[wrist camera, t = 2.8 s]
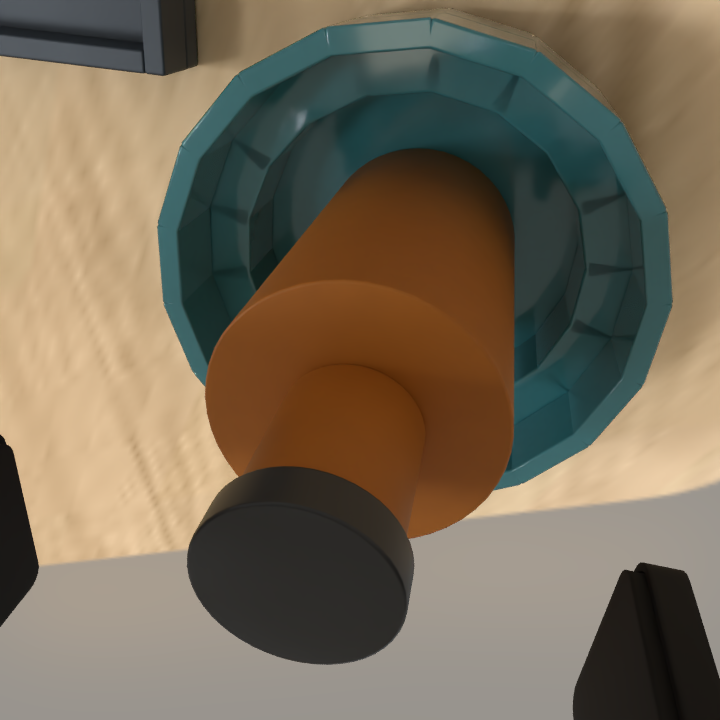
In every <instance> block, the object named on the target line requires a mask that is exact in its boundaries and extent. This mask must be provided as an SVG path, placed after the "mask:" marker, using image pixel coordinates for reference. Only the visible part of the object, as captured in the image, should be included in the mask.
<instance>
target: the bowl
mask: <svg viewBox="0 0 720 720" xmlns="http://www.w3.org/2000/svg"><path fill="white" fill-rule="evenodd" d="M415 148H420V149H432V150H437V151H442V152H446V153H449V154H451V155H454V156H457V157H459V158H461V159H463V160H465V161H467V162H469V163H470V164H472V165H473V166H475V167H476V168H477V169H479V170H480V171H481V172H482V173H483V174H484V175H486V176H487V177H488V178H489V179H490V180H491V182H492V183H493V184H494V185H495V186H496V188H497V189H498V190H499V192H500V194H501V195H502V197H503V198H504V200H505V203H506V205H507V207H508V209H509V212H510V215H511V219H512V222H513V228H514V235H515V249H514V439H513V445H512V451H511V455H510V458H509V461H508V464H507V467H506V470H505V472H504V473H503V475H502V477H501V479H500V481H499V483H498V484H497V486H496V487H495V488H494V490H498V489H502V488H507V487H512V486H516V485H520V484H521V483H525V482H527V481H528V480H530V479H532V478H534V477H536V476H537V475H539V474H541V473H543V472H544V471H546V470H548V469H550V468H552V467H553V466H555V465H557V464H559V463H560V462H562V461H564V460H566V459H568V458H569V457H571V456H573V455H575V454H576V453H578V452H580V451H582V450H584V449H585V448H587V447H588V446H589V445H591V444H592V443H593V442H594V441H595V440H596V439H597V437H598V436H599V435H600V434H601V433H602V432H603V431H604V429H605V428H606V427H607V426H608V425H609V424H610V423H611V422H612V420H613V419H614V418H615V417H616V416H617V415H618V414H619V412H620V411H621V410H622V409H623V408H624V407H625V406H626V404H627V403H628V402H629V401H630V400H631V399H632V398H633V397H634V395H635V394H636V393H637V392H638V391H639V390H640V389H641V387H642V385H643V384H644V383H645V380H646V377H647V374H648V372H649V369H650V366H651V363H652V361H653V358H654V355H655V352H656V350H657V347H658V344H659V341H660V338H661V336H662V333H663V330H664V327H665V325H666V322H667V319H668V316H669V314H670V311H671V308H672V302H673V297H672V279H671V261H670V242H669V224H668V213H667V211H666V206H665V204H664V202H663V200H662V198H661V196H660V194H659V193H658V191H657V189H656V187H655V185H654V183H653V181H652V179H651V177H650V175H649V173H648V171H647V169H646V167H645V165H644V163H643V161H642V159H641V157H640V155H639V153H638V151H637V149H636V147H635V145H634V143H633V141H632V139H631V137H630V135H629V133H628V131H627V129H626V127H625V125H624V123H623V122H622V120H621V119H620V118H619V116H618V115H617V113H616V112H615V111H614V109H613V108H612V106H611V105H610V104H609V102H608V101H607V100H606V98H605V97H604V95H603V94H602V93H601V92H600V91H599V89H598V88H597V87H596V86H595V85H594V84H593V83H591V82H590V81H589V80H588V79H587V78H585V77H584V76H583V75H582V74H581V73H580V72H578V71H577V70H576V69H575V68H574V67H572V66H571V65H570V64H569V63H568V62H566V61H565V60H564V59H563V58H562V57H561V56H559V55H558V54H557V53H556V52H555V51H553V50H552V49H551V48H550V47H549V46H548V45H546V44H545V43H544V42H543V41H542V40H540V39H539V38H538V37H537V36H533V34H532V33H530V32H526V31H523V30H520V29H517V28H514V27H510V26H507V25H504V24H501V23H498V22H494V21H491V20H488V19H485V18H482V17H478V16H475V15H472V14H469V13H466V12H462V11H459V10H456V9H453V8H452V9H448V8H439V9H429V10H418V11H407V12H397V13H386V14H375V15H366V16H363V17H359V18H355V19H352V20H348V21H344V22H340V23H337V24H333V25H330V26H327V27H324V28H321V29H319V30H317V31H316V32H314V33H312V34H310V35H308V36H306V37H304V38H302V39H301V40H299V41H297V42H295V43H293V44H291V45H289V46H287V47H286V48H284V49H282V50H280V51H278V52H276V53H274V54H272V55H271V56H269V57H267V58H265V59H263V60H261V61H259V62H257V63H256V64H254V65H252V66H250V67H248V68H246V69H244V70H243V71H241V72H240V73H239V74H238V75H236V76H235V77H234V78H233V79H232V81H231V82H230V83H229V84H228V86H227V87H226V88H225V89H224V91H223V92H222V93H221V94H220V96H219V97H218V98H217V99H216V101H215V102H214V103H213V104H212V106H211V107H210V108H209V109H208V110H207V112H206V113H205V114H204V115H203V117H202V118H201V119H200V120H199V122H198V123H197V124H196V125H195V127H194V128H193V129H192V130H191V132H190V133H189V134H188V135H187V137H186V138H185V139H184V140H183V142H182V145H181V146H180V148H179V152H178V155H177V159H176V162H175V165H174V169H173V172H172V176H171V179H170V182H169V186H168V189H167V193H166V196H165V199H164V203H163V206H162V210H161V213H160V216H159V220H158V224H159V225H158V227H157V229H158V241H159V254H160V267H161V279H162V292H163V302H164V307H165V309H166V311H167V313H168V316H169V318H170V320H171V323H172V325H173V327H174V330H175V332H176V334H177V337H178V339H179V341H180V344H181V346H182V348H183V351H184V353H185V355H186V357H187V360H188V362H189V364H190V367H191V369H192V371H193V373H194V374H195V375H196V377H197V378H198V379H199V380H200V381H201V382H202V384H203V385H204V386H205V387H206V376H207V370H208V365H209V362H210V359H211V356H212V353H213V350H214V348H215V346H216V344H217V342H218V341H219V339H220V337H221V335H222V334H223V332H224V331H225V330H226V328H227V327H228V326H229V325H230V323H231V322H232V321H233V320H234V318H235V317H236V316H237V315H238V314H239V312H240V311H241V310H242V309H243V307H244V306H245V305H246V304H247V302H248V301H249V300H250V299H251V298H252V296H253V295H254V294H255V293H256V291H257V290H258V289H259V288H260V286H261V285H262V284H263V283H264V282H265V280H266V279H267V278H268V277H269V275H270V274H271V273H272V272H273V270H274V269H275V268H276V267H277V266H278V264H279V263H280V262H281V261H282V259H283V258H284V257H285V256H286V255H287V253H288V252H289V251H290V250H291V248H292V247H293V246H294V245H295V243H296V242H297V241H298V240H299V239H300V237H301V236H302V235H303V234H304V232H305V231H306V230H307V229H308V227H309V226H310V225H311V224H312V223H313V221H314V220H315V219H316V218H317V216H318V215H319V214H320V213H321V211H322V210H323V209H324V208H325V207H326V205H327V204H328V203H329V202H330V200H331V199H332V198H333V197H334V196H335V194H336V193H337V192H338V191H339V189H340V188H341V187H342V186H343V184H344V183H345V182H346V181H347V180H348V178H349V177H350V176H351V175H352V174H353V173H355V172H356V171H357V170H358V169H359V168H361V167H362V166H363V165H365V164H366V163H368V162H369V161H371V160H373V159H375V158H377V157H379V156H382V155H384V154H387V153H390V152H394V151H398V150H403V149H415Z"/></svg>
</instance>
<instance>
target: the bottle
mask: <svg viewBox="0 0 720 720" xmlns="http://www.w3.org/2000/svg"><path fill="white" fill-rule="evenodd" d="M514 249H515V235H514V228H513V222H512V219H511V215H510V212H509V209H508V207H507V205H506V203H505V200H504V198H503V197H502V195H501V194H500V192H499V190H498V189H497V188H496V186H495V185H494V184H493V183H492V182H491V180H490V179H489V178H488V177H487V176H486V175H484V174H483V173H482V172H481V171H480V170H479V169H477V168H476V167H475V166H473V165H472V164H470V163H469V162H467V161H465V160H463V159H461V158H459V157H457V156H454V155H451V154H449V153H446V152H442V151H437V150H432V149H420V148H415V149H403V150H398V151H394V152H390V153H387V154H384V155H382V156H379V157H377V158H375V159H373V160H371V161H369V162H368V163H366V164H365V165H363V166H362V167H361V168H359V169H358V170H357V171H356V172H355V173H353V174H352V175H351V176H350V177H349V178H348V180H347V181H346V182H345V183H344V184H343V186H342V187H341V188H340V189H339V191H338V192H337V193H336V194H335V196H334V197H333V198H332V199H331V200H330V202H329V203H328V204H327V205H326V207H325V208H324V209H323V210H322V211H321V213H320V214H319V215H318V216H317V218H316V219H315V220H314V221H313V223H312V224H311V225H310V226H309V227H308V229H307V230H306V231H305V232H304V234H303V235H302V236H301V237H300V239H299V240H298V241H297V242H296V243H295V245H294V246H293V247H292V248H291V250H290V251H289V252H288V253H287V255H286V256H285V257H284V258H283V259H282V261H281V262H280V263H279V264H278V266H277V267H276V268H275V269H274V270H273V272H272V273H271V274H270V275H269V277H268V278H267V279H266V280H265V282H264V283H263V284H262V285H261V286H260V288H259V289H258V290H257V291H256V293H255V294H254V295H253V296H252V298H251V299H250V300H249V301H248V302H247V304H246V305H245V306H244V307H243V309H242V310H241V311H240V312H239V314H238V315H237V316H236V317H235V318H234V320H233V321H232V322H231V323H230V325H229V326H228V327H227V328H226V330H225V331H224V332H223V334H222V335H221V337H220V339H219V341H218V342H217V344H216V346H215V348H214V350H213V353H212V356H211V359H210V362H209V365H208V370H207V376H206V388H205V400H206V408H207V415H208V419H209V422H210V426H211V430H212V432H213V435H214V437H215V440H216V442H217V444H218V446H219V448H220V450H221V452H222V454H223V455H224V457H225V459H226V460H227V462H228V463H229V465H230V466H231V467H232V469H233V470H234V471H235V473H236V474H237V475H238V476H239V477H238V478H236V479H234V480H233V481H232V482H230V483H229V484H227V485H226V486H225V487H224V488H223V489H222V490H221V491H220V492H219V493H218V494H217V496H216V497H215V499H214V500H213V502H212V503H211V505H210V507H209V509H208V510H207V512H206V514H205V516H204V517H203V519H202V521H201V522H200V524H199V526H198V528H197V529H196V531H195V533H194V535H193V537H192V539H191V542H190V544H189V549H188V554H187V568H188V574H189V578H190V581H191V585H192V587H193V589H194V591H195V593H196V595H197V597H198V599H199V600H200V601H201V603H202V605H203V606H204V607H205V609H206V610H207V611H208V612H209V613H210V615H211V616H212V617H213V618H214V619H215V620H216V621H217V622H218V623H220V625H222V626H223V627H224V628H225V629H227V630H228V631H229V632H230V633H232V634H233V635H235V636H236V637H238V638H239V639H241V640H242V641H244V642H246V643H248V644H250V645H251V646H253V647H255V648H258V649H260V650H262V651H264V652H267V653H269V654H272V655H275V656H277V657H281V658H284V659H288V660H292V661H297V662H302V663H310V664H326V665H331V664H343V663H348V662H354V661H358V660H361V659H364V658H367V657H369V656H371V655H373V654H376V653H377V652H379V651H380V650H382V649H384V648H385V647H386V646H387V645H388V644H389V643H390V642H392V641H393V639H394V638H395V637H396V635H397V634H398V633H399V632H400V630H401V628H402V626H403V624H404V621H405V618H406V614H407V610H408V604H409V598H410V592H411V586H412V580H413V574H414V557H413V551H412V548H411V544H410V541H409V539H410V538H416V537H420V536H423V535H428V534H431V533H434V532H436V531H439V530H442V529H444V528H447V527H448V526H450V525H452V524H454V523H456V522H458V521H460V520H462V519H463V518H464V517H466V516H467V515H468V514H470V513H471V512H473V511H474V510H475V509H476V508H477V507H478V506H479V505H480V504H481V503H483V502H484V501H485V500H486V499H487V498H488V496H489V495H490V494H491V492H492V491H493V490H494V488H495V487H496V486H497V484H498V483H499V481H500V479H501V477H502V475H503V473H504V472H505V470H506V467H507V464H508V461H509V458H510V455H511V451H512V445H513V439H514Z"/></svg>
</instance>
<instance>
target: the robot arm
mask: <svg viewBox="0 0 720 720" xmlns="http://www.w3.org/2000/svg"><path fill="white" fill-rule="evenodd" d="M38 569H39V565H38V559H37V555H36V550H35V546H34V541H33V537H32V533H31V528H30V524H29V519H28V515H27V510H26V506H25V502H24V497H23V493H22V488H21V484H20V479H19V475H18V471H17V466H16V462H15V457H14V453H13V450H12V448H11V447H10V446H9V445H6V442H5V439H4V438H3V437H2V436H1V435H0V627H1V625H2V624H3V623H4V622H5V620H6V619H7V618H8V616H9V615H10V614H11V613H12V611H13V610H14V609H15V608H16V606H17V605H18V604H19V602H20V601H21V600H22V599H23V598H24V596H25V595H26V594H27V592H28V591H29V590H30V589H31V587H32V586H33V584H34V582H35V580H36V577H37V574H38ZM573 717H574V720H720V678H719V675H718V672H717V669H716V665H715V662H714V659H713V655H712V652H711V649H710V646H709V642H708V639H707V636H706V632H705V629H704V626H703V623H702V619H701V616H700V613H699V609H698V606H697V603H696V600H695V597H694V593H693V590H692V587H691V583H690V580H689V578H688V576H687V574H686V573H685V572H684V571H682V570H677V569H672V568H667V567H662V566H657V565H652V564H647V563H639V564H638V565H637V567H636V569H635V570H634V572H633V571H629V570H624V571H622V573H621V575H620V577H619V580H618V582H617V585H616V587H615V590H614V592H613V594H612V597H611V599H610V602H609V604H608V607H607V609H606V612H605V614H604V617H603V619H602V622H601V624H600V626H599V629H598V631H597V634H596V636H595V639H594V641H593V644H592V646H591V649H590V651H589V654H588V657H587V659H586V661H585V664H584V666H583V668H582V671H581V674H580V676H579V678H578V681H577V684H576V686H575V691H574V697H573Z"/></svg>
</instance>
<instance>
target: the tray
mask: <svg viewBox="0 0 720 720" xmlns="http://www.w3.org/2000/svg"><path fill="white" fill-rule="evenodd" d="M0 56H7V57H15V58H23V59H31V60H39V61H47V62H55V63H63V64H71V65H79V66H87V67H95V68H103V69H111V70H119V71H127V72H135V73H147V74H152V75H160V76H165V75H168V74H172V73H175V72H179V71H182V70H185V69H188V68H192V67H195V66H197V48H196V23H195V0H0Z"/></svg>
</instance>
